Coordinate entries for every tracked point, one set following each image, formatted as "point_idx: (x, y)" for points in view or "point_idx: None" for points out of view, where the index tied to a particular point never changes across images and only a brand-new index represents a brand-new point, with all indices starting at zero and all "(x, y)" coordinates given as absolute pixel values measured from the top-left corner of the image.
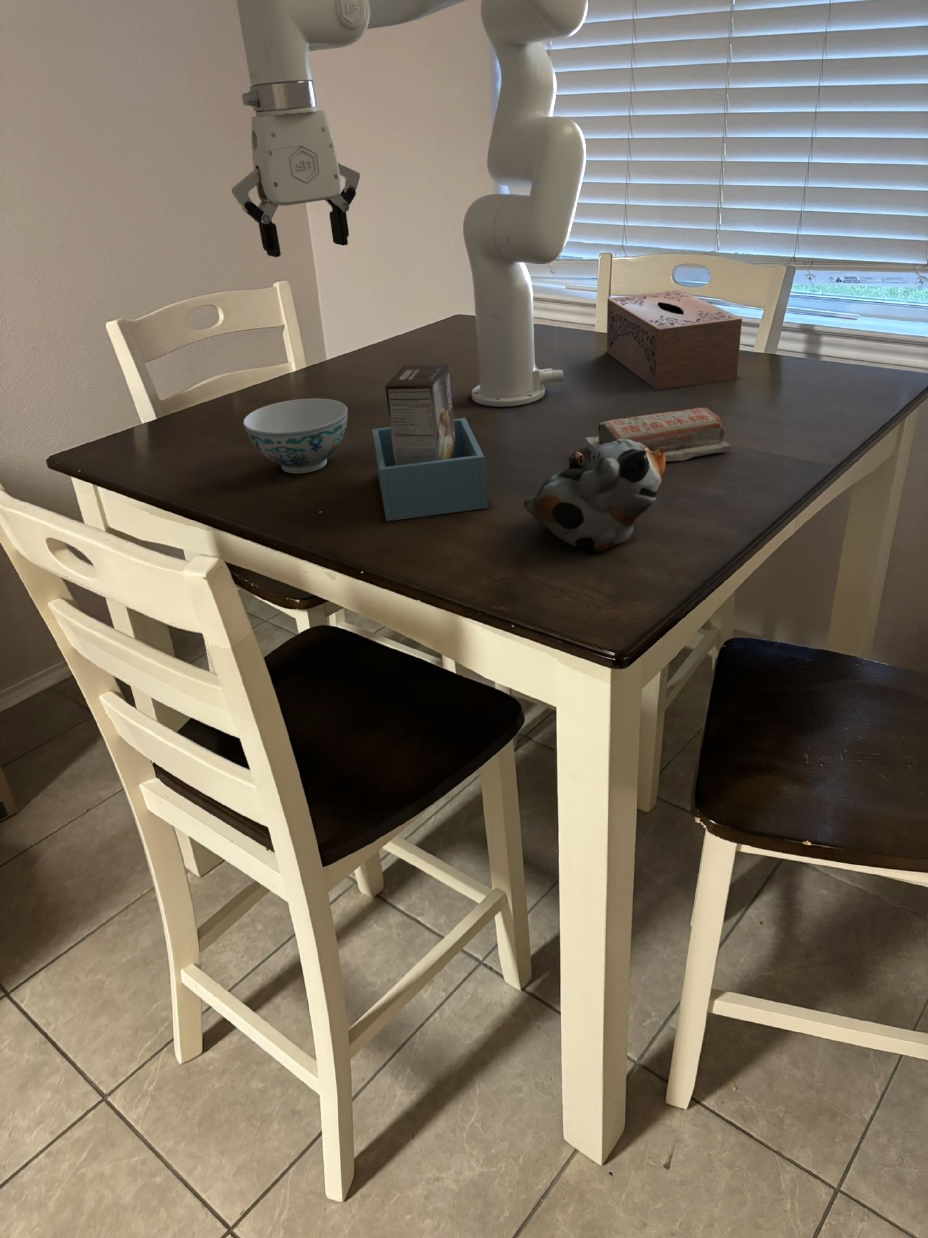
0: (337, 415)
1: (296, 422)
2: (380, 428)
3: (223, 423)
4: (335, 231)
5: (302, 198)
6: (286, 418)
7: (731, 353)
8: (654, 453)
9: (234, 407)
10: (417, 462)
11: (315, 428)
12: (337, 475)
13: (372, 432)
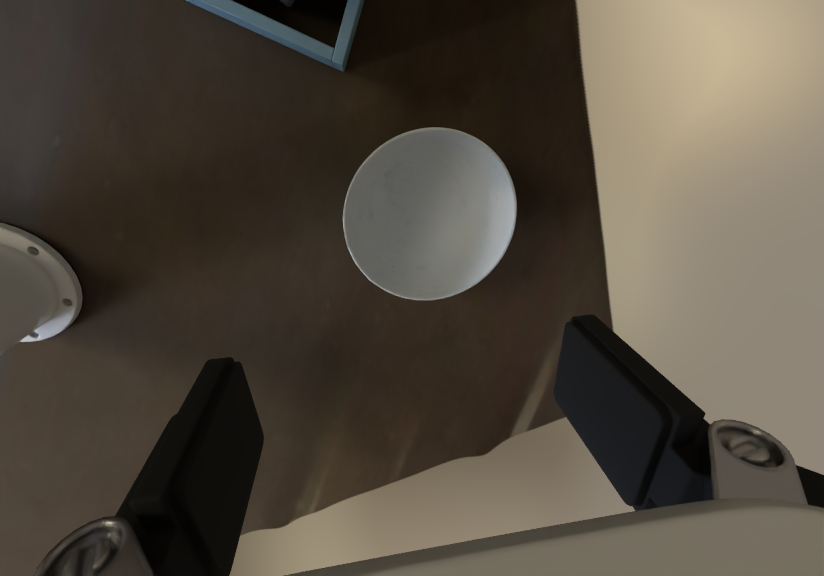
0: (353, 231)
1: (405, 273)
2: (326, 55)
3: (442, 403)
4: (241, 453)
5: (570, 556)
6: (419, 281)
7: None
8: None
9: (410, 445)
10: None
11: (434, 127)
12: (395, 126)
13: (348, 44)
